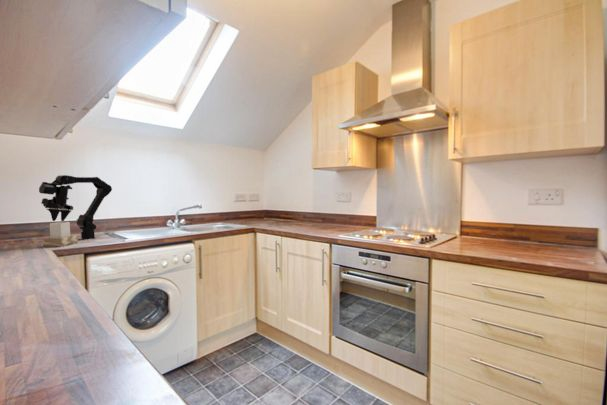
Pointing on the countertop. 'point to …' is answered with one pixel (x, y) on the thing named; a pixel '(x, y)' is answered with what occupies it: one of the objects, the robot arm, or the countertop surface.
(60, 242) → the beech crate
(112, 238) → the countertop surface
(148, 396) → the countertop surface
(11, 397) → the countertop surface
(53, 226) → the grey tote
